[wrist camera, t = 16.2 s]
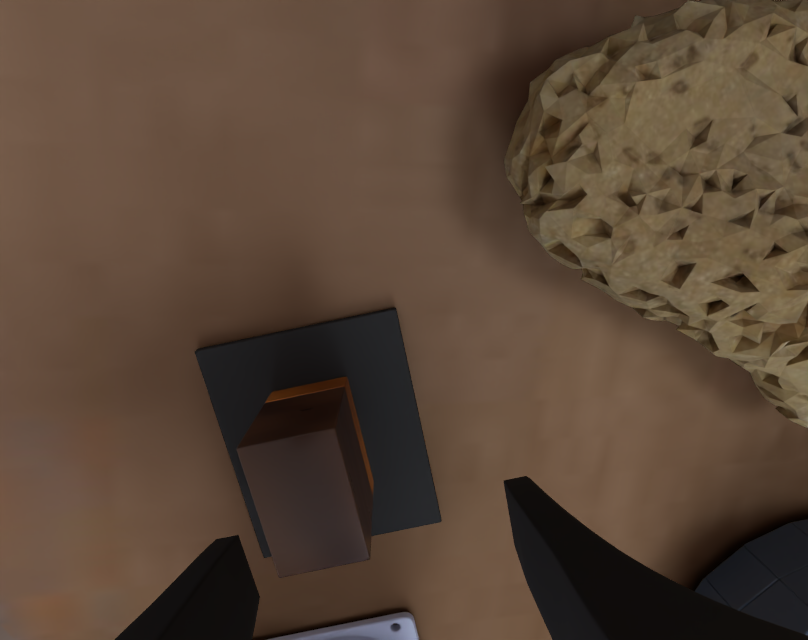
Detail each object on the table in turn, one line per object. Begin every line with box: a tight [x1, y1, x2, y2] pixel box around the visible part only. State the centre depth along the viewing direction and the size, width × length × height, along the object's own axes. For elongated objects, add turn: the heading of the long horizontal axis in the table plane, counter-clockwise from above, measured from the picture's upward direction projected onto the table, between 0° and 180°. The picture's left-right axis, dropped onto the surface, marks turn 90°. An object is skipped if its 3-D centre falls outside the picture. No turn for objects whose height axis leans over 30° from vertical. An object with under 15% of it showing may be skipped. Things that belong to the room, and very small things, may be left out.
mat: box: [195, 308, 441, 558], centre depth 21 cm, size 9×11×1 cm
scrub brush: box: [237, 377, 374, 578], centre depth 19 cm, size 4×6×5 cm, turn 12°
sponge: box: [504, 0, 808, 428], centre depth 17 cm, size 13×8×20 cm
